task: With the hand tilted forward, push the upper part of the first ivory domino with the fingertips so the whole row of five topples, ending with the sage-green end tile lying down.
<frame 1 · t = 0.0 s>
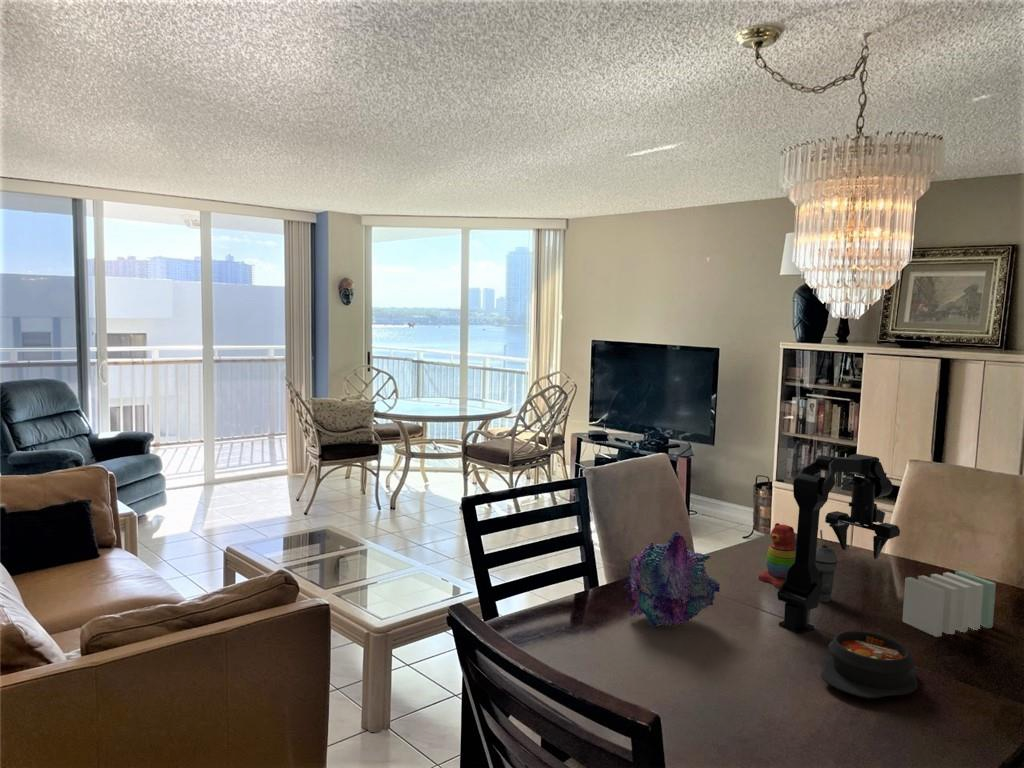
hand: (859, 554, 198), 15 cm above the table, tool pointing down, fingers open, 9 cm apart
domino 1: (921, 628, 184), on the table
domino 2: (934, 626, 185), on the table
domino 4: (959, 622, 188), on the table
domino 5: (971, 620, 190), on the table
domino 3: (947, 624, 187), on the table
casserole: (868, 682, 155), on the table
stacking bear: (780, 582, 217), on the table
coral: (669, 624, 184), on the table
beverage cup: (821, 599, 203), on the table
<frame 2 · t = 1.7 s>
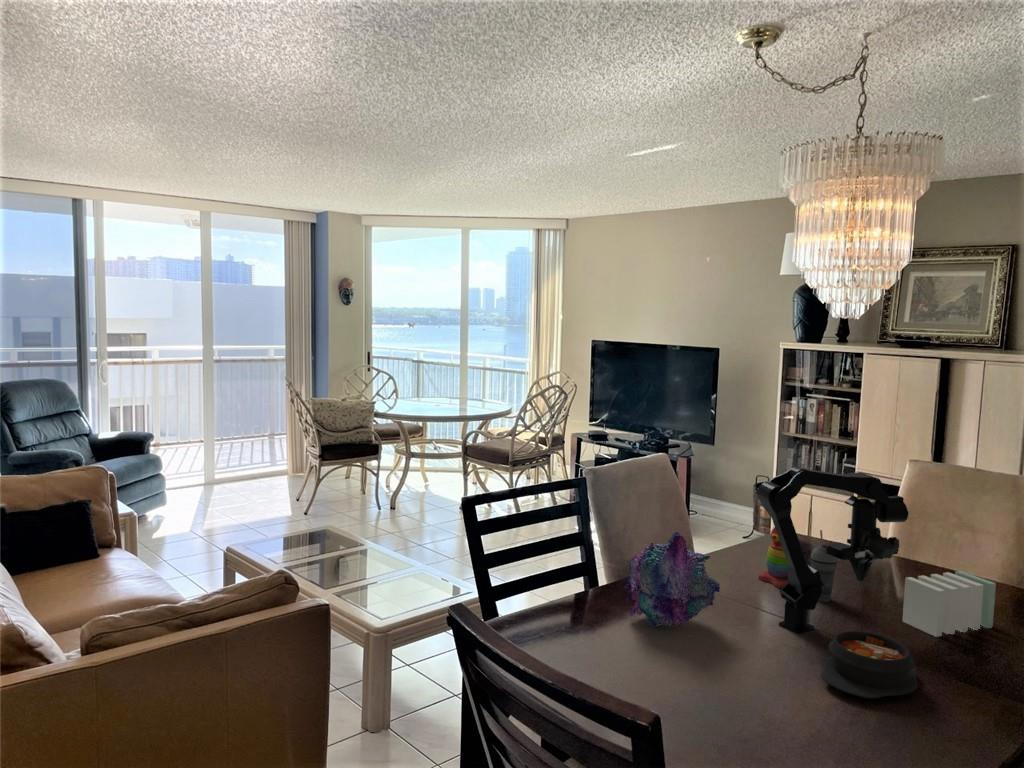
hand: (860, 580, 184), 12 cm above the table, tool pointing down, fingers closed
nothing on the table moved.
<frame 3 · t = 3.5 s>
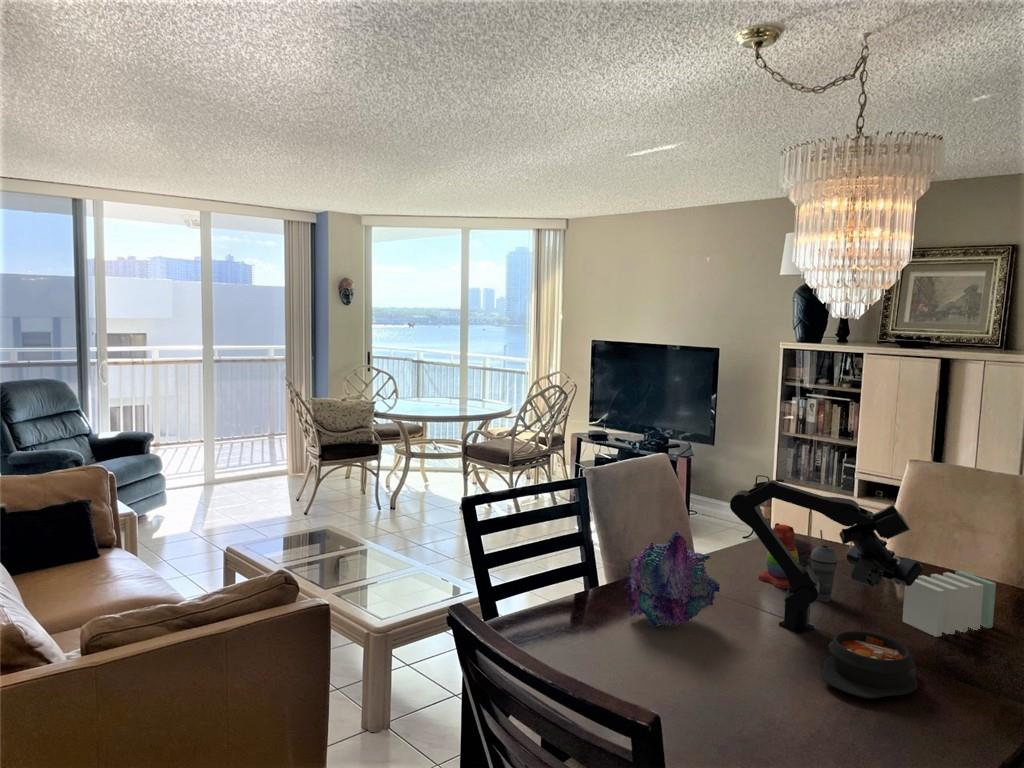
hand: (898, 583, 181), 13 cm above the table, tool tilted 45°, fingers closed
nothing on the table moved.
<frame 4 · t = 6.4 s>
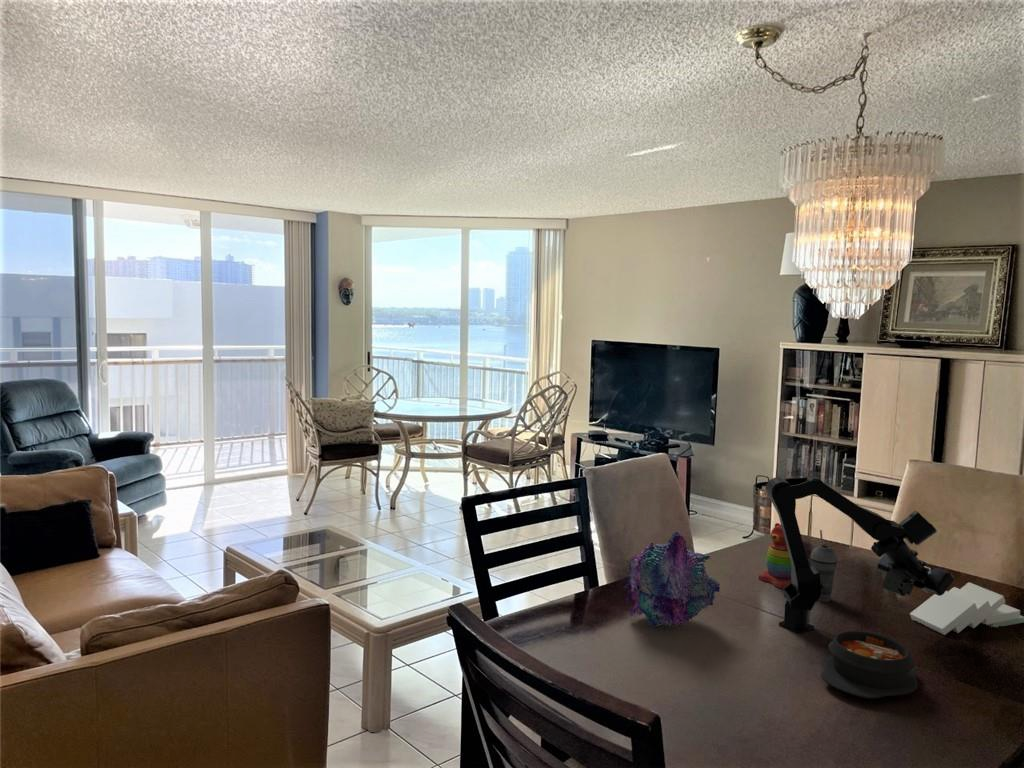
hand: (929, 591, 184), 10 cm above the table, tool tilted 45°, fingers closed
domino 1: (926, 624, 185), point 1 cm above the table, tilted 61°, touching domino 2
domino 2: (940, 622, 186), point 1 cm above the table, tilted 60°, touching domino 1, domino 3
domino 4: (968, 613, 189), point 2 cm above the table, tilted 87°, touching domino 3, domino 5
domino 5: (975, 619, 190), on the table, tilted 90°, touching domino 4
domino 3: (955, 617, 188), point 2 cm above the table, tilted 60°, touching domino 2, domino 4
everything else where it was.
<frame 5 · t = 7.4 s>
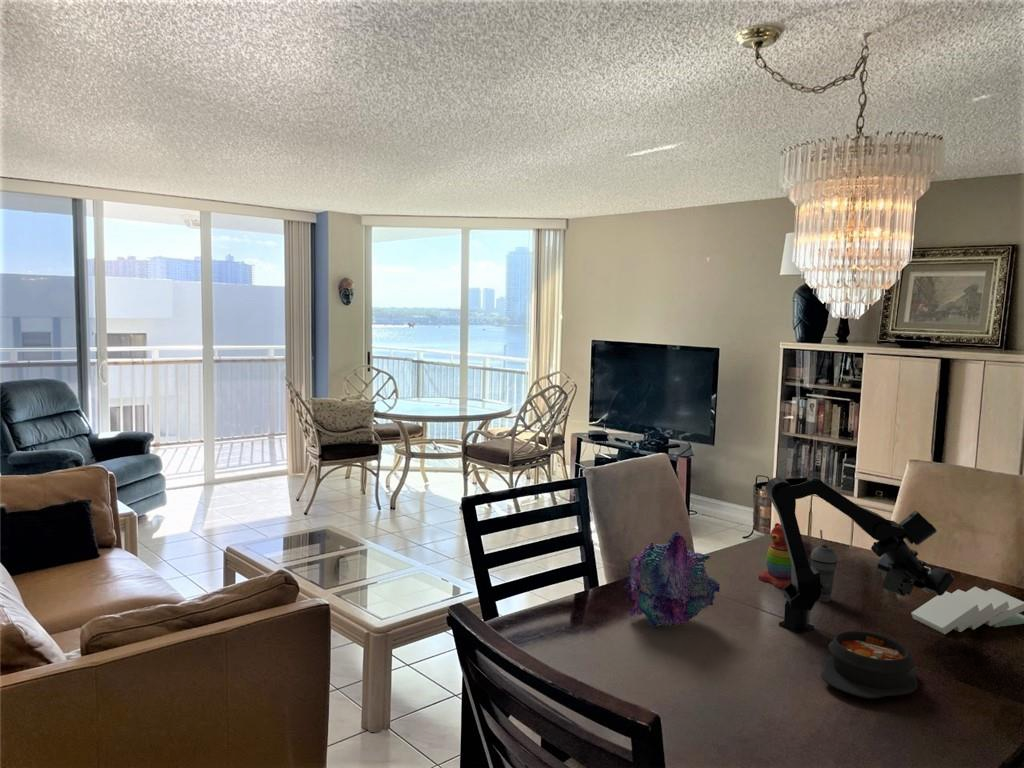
hand: (929, 591, 184), 10 cm above the table, tool tilted 45°, fingers closed
domino 1: (927, 623, 185), point 1 cm above the table, tilted 64°
domino 2: (942, 621, 186), point 1 cm above the table, tilted 63°, touching domino 3
domino 4: (973, 614, 189), point 2 cm above the table, tilted 72°, touching domino 3, domino 5
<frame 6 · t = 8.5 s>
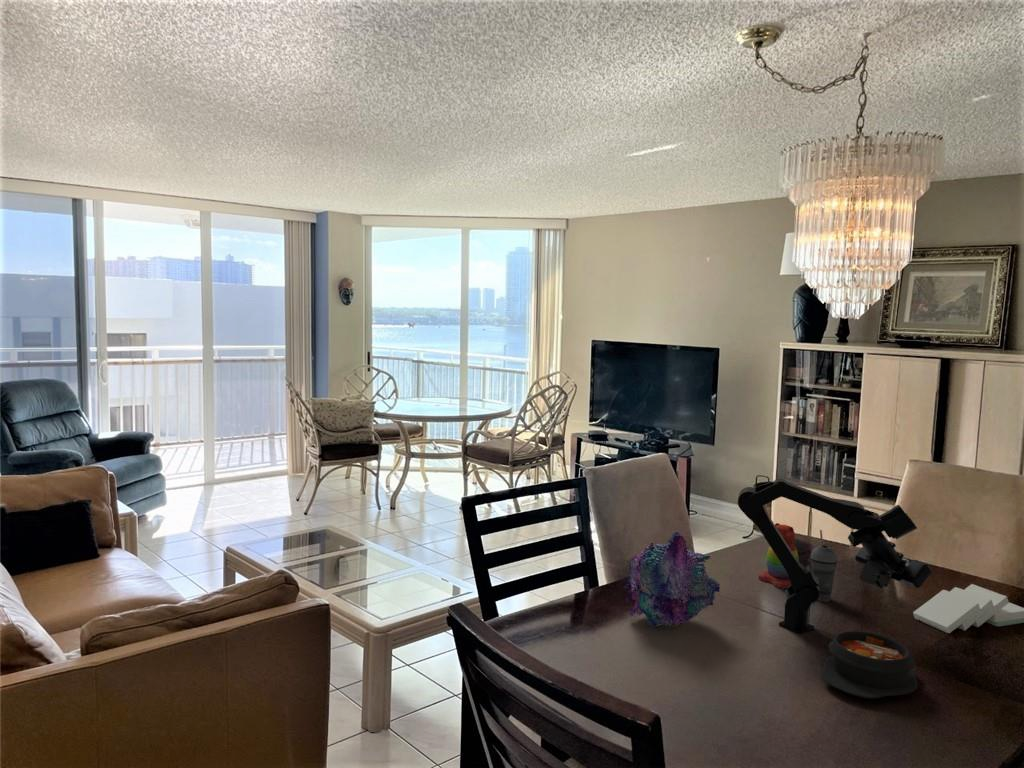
hand: (907, 584, 181), 12 cm above the table, tool tilted 45°, fingers closed
domino 1: (930, 622, 186), point 1 cm above the table, tilted 64°, touching domino 2
domino 2: (945, 620, 187), point 1 cm above the table, tilted 64°, touching domino 1, domino 3
domino 4: (977, 611, 191), point 2 cm above the table, tilted 90°, touching domino 3
domino 5: (979, 618, 191), on the table, tilted 90°
domino 3: (959, 616, 189), point 1 cm above the table, tilted 63°, touching domino 2, domino 4
everything else where it was.
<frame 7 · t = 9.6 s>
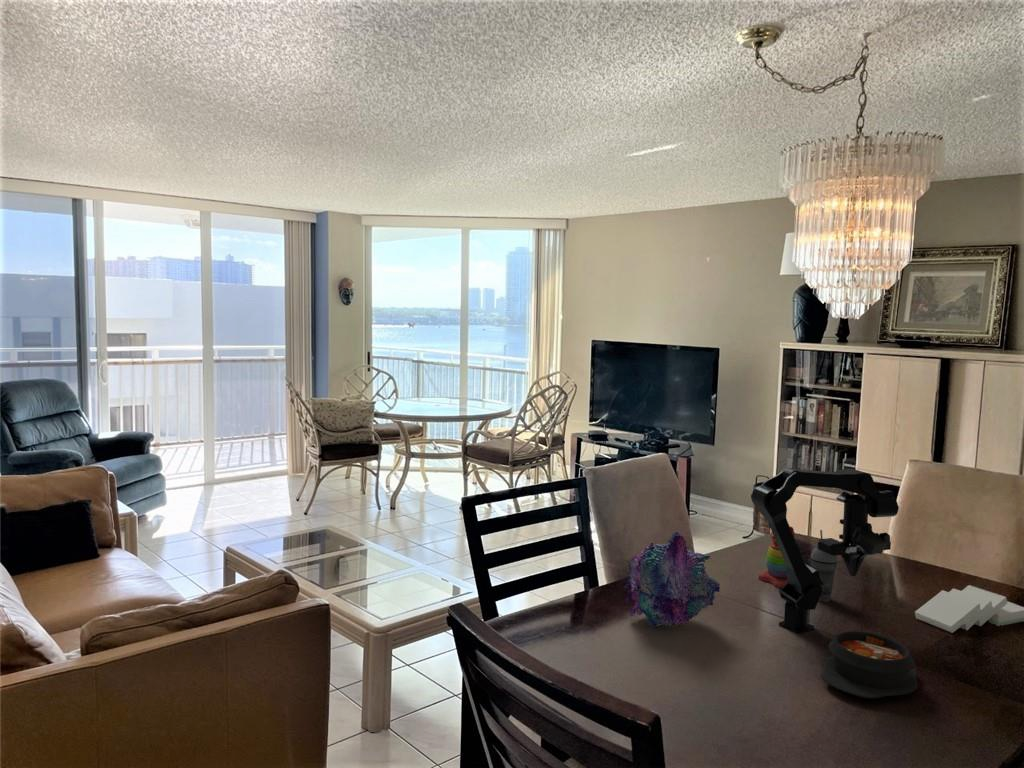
hand: (852, 575, 185), 13 cm above the table, tool pointing down, fingers closed
domino 1: (933, 622, 186), point 1 cm above the table, tilted 68°, touching domino 2
domino 4: (980, 611, 192), point 2 cm above the table, tilted 90°, touching domino 5
domino 5: (979, 619, 191), on the table, tilted 90°, touching domino 4
domino 3: (960, 616, 190), point 1 cm above the table, tilted 68°, touching domino 2
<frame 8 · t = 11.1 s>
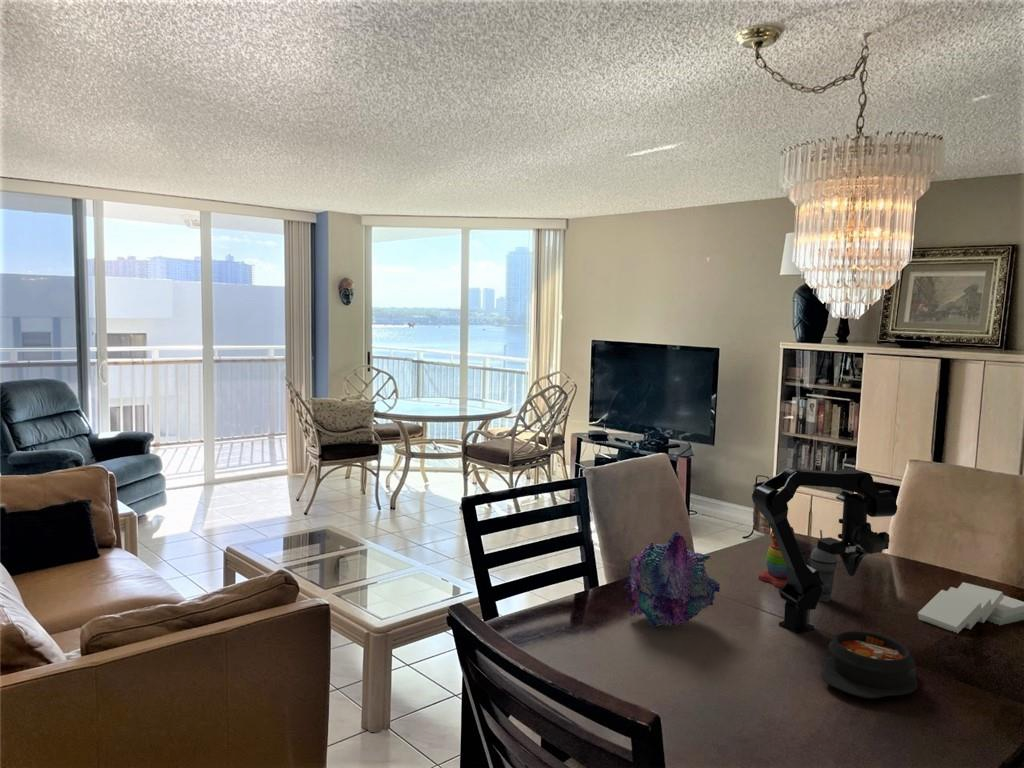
hand: (851, 575, 185), 13 cm above the table, tool pointing down, fingers closed
domino 1: (937, 623, 185), point 1 cm above the table, tilted 68°, touching domino 2
domino 2: (949, 619, 188), point 1 cm above the table, tilted 68°, touching domino 1
domino 4: (984, 607, 193), point 2 cm above the table, tilted 90°, touching domino 3, domino 5
domino 3: (962, 614, 191), point 1 cm above the table, tilted 67°, touching domino 4
at the end: domino 5 tilted 90°; domino 1 tilted 68° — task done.
